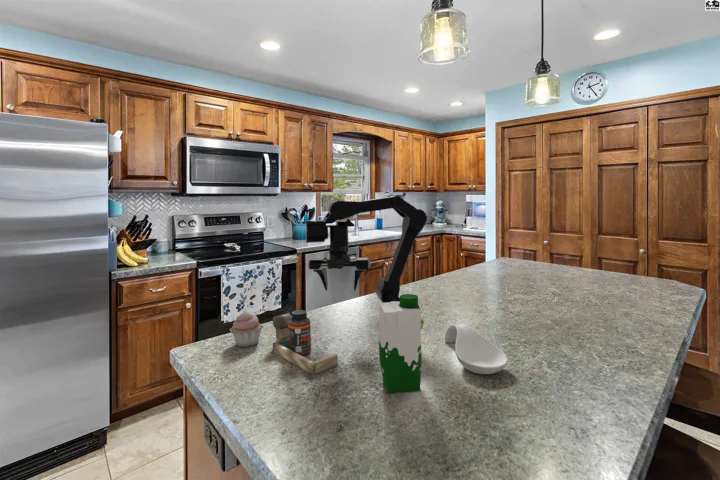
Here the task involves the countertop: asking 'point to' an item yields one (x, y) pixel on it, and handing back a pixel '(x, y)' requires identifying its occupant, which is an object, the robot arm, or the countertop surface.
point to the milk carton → (400, 344)
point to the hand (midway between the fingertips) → (340, 290)
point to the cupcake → (246, 329)
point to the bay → (303, 358)
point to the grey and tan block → (282, 326)
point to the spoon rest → (475, 350)
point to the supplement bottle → (299, 333)
